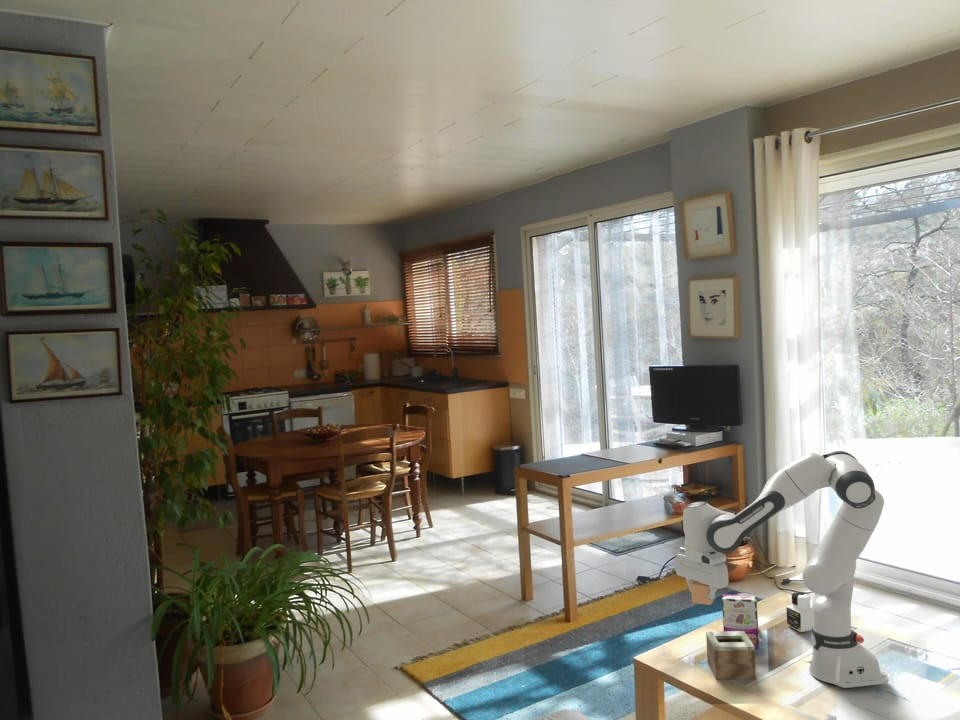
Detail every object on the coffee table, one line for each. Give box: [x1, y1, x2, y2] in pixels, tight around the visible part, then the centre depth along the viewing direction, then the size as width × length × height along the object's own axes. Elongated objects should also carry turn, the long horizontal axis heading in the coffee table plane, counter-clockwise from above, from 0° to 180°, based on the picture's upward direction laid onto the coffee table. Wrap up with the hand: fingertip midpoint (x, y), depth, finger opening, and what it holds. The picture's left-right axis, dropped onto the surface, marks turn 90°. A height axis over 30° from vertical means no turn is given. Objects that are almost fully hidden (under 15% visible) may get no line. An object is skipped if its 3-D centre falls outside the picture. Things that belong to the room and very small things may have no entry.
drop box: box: [705, 630, 757, 680], centre depth 235 cm, size 12×12×10 cm
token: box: [690, 581, 714, 606], centre depth 240 cm, size 6×3×6 cm, turn 56°
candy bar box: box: [721, 594, 760, 649], centre depth 253 cm, size 11×5×16 cm, turn 71°
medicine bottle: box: [785, 591, 813, 633], centre depth 264 cm, size 7×7×12 cm
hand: (702, 595), depth 240 cm, fingers closed on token, 7 cm apart
